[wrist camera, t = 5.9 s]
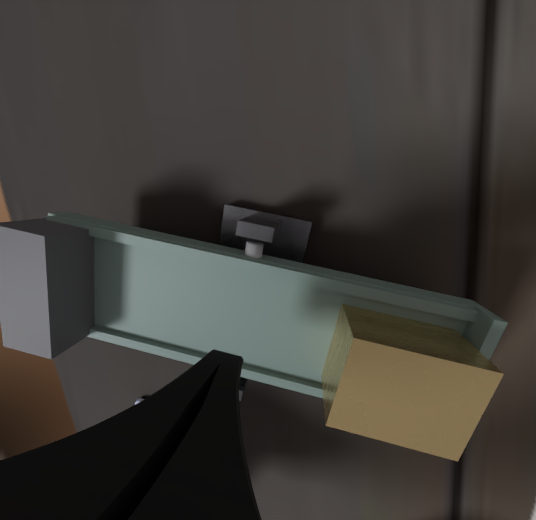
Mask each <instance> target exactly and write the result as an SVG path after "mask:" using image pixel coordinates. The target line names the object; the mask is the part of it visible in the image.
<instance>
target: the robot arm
mask: <svg viewBox="0 0 536 520" xmlns="http://www.w3.org/2000/svg"><path fill="white" fill-rule="evenodd" d="M243 360H244V359H243V358H242V356H238V355H234V354H230V353H226V352H223V351H219V350H215V349H213V350H212V351H210V352H209V353H208V354H207V355H205V356H204V357H203V358H202V359H201V360H199V361H198V362H197V363H196V364H195V365H193V366H192V367H191V368H189V369H188V370H187V371H185V372H184V373H183V374H182V375H180V376H179V377H178V378H176V379H175V380H173V381H172V382H170V383H169V384H167V385H166V386H164V387H163V388H162V389H160V390H159V391H157V392H156V393H154V394H152V395H151V396H149V397H148V398H146V399H142V398H140V399H138V400H137V401H136V402H135V405H134V406H132V407H130V408H128V409H126V410H125V411H123V412H121V413H119V414H117V415H115V416H113V417H111V418H109V419H107V420H105V421H103V422H101V423H98V424H96V425H94V426H92V427H90V428H87V429H85V430H83V431H80V432H78V433H76V434H74V435H71V436H68V437H66V438H64V439H61V440H58V441H55V442H53V443H50V444H48V445H45V446H42V447H39V448H36V449H33V450H30V451H27V452H24V453H22V454H19V455H16V456H13V457H10V458H7V459H4V460H0V520H261V517H260V514H259V510H258V507H257V503H256V499H255V495H254V492H253V488H252V484H251V479H250V475H249V470H248V466H247V461H246V456H245V451H244V445H243V438H242V431H241V422H240V410H239V381H240V376H241V370H242V365H243Z"/></svg>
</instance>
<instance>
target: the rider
mask: <svg viewBox="0 0 536 520" xmlns="http://www.w3.org/2000/svg"><path fill="white" fill-rule="evenodd" d="M503 375H504V373H503V372H501V371H500V370H499V369H498V368H497V367H496V366H495V365H494V364H493V363H492V362H490V361H489V360H488V359H487V358H486V357H485V356H484V355H483V354H482V353H481V352H479V351H478V350H477V349H476V348H475V347H474V346H473V345H472V344H471V343H470V342H468V341H467V340H466V339H465V338H464V337H463V336H462V335H461V334H460V333H459V332H457V331H456V330H455V329H451V328H447V327H443V326H438V325H434V324H430V323H425V322H421V321H416V320H412V319H408V318H403V317H399V316H395V315H390V314H386V313H381V312H377V311H373V310H368V309H364V308H359V307H355V306H351V305H346V304H342V306H341V309H340V313H339V316H338V319H337V323H336V326H335V330H334V333H333V337H332V340H331V344H330V347H329V350H328V354H327V357H326V361H325V364H324V368H323V371H322V374H321V378H322V389H323V400H324V412H325V423H326V426H329V427H332V428H336V429H340V430H343V431H347V432H351V433H354V434H358V435H362V436H365V437H369V438H373V439H377V440H380V441H384V442H388V443H391V444H395V445H399V446H402V447H406V448H410V449H413V450H417V451H421V452H424V453H428V454H432V455H436V456H439V457H443V458H447V459H450V460H454V461H458V460H459V458H460V457H461V455H462V453H463V451H464V449H465V447H466V445H467V443H468V441H469V439H470V438H471V436H472V434H473V432H474V430H475V428H476V426H477V424H478V422H479V421H480V419H481V417H482V415H483V413H484V411H485V409H486V407H487V405H488V403H489V402H490V400H491V398H492V396H493V394H494V392H495V390H496V388H497V386H498V384H499V383H500V381H501V379H502V377H503Z"/></svg>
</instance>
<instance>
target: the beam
mask: <svg viewBox="0 0 536 520" xmlns="http://www.w3.org/2000/svg"><path fill="white" fill-rule="evenodd" d="M263 246H264V244H262V243H260V242H255V241H247V242H246V247H245V250H240V249H236V248H231V247H226V246H222V245H217V244H213V243H208V242H203V241H199V240H194V239H190V238H185V237H180V236H176V235H171V234H167V233H162V232H157V231H153V230H148V229H144V228H139V227H135V226H130V225H125V224H121V223H116V222H112V221H107V220H102V219H98V218H93V217H89V216H84V215H79V214H75V213H70V212H54V213H48V216H46V218H43V219H32V220H22V221H11V222H1V223H0V321H1V330H2V339H3V346H5V347H8V348H12V349H16V350H20V351H23V352H26V353H30V354H34V355H38V356H41V357H45V358H48V359H53V358H54V357H56V356H57V355H59V354H60V353H62V352H63V351H65V350H67V349H68V348H70V347H71V346H73V345H74V344H76V343H77V342H79V341H80V340H82V339H83V338H85V337H86V336H87V337H91V338H95V339H99V340H102V341H106V342H110V343H114V344H118V345H121V346H125V347H129V348H133V349H137V350H140V351H144V352H148V353H152V354H156V355H160V356H163V357H167V358H171V359H175V360H179V361H182V362H186V363H190V364H194V365H195V364H196V363H197V362H198V361H199V360H201V359H202V358H203V357H204V356H205V355H207V354H208V353H209V352H210V351H212V350H213V349H215V350H219V351H223V352H226V353H230V354H234V355H238V356H242V358H243V359H244V360H243V365H242V370H241V376H240V377H243V378H247V379H251V380H255V381H259V382H262V383H266V384H270V385H274V386H278V387H281V388H285V389H289V390H293V391H297V392H300V393H304V394H308V395H312V396H316V397H319V398H323V389H322V378H321V374H322V371H323V368H324V364H325V361H326V357H327V354H328V350H329V347H330V344H331V340H332V337H333V333H334V330H335V326H336V323H337V319H338V316H339V313H340V309H341V306H342V304H346V305H351V306H355V307H359V308H364V309H368V310H373V311H377V312H381V313H386V314H390V315H395V316H399V317H403V318H408V319H412V320H416V321H421V322H425V323H430V324H434V325H438V326H443V327H447V328H451V329H455V330H456V331H457V332H459V333H460V334H461V335H462V336H463V337H464V338H465V339H466V340H467V341H468V342H470V343H471V344H472V345H473V346H474V347H475V348H476V349H477V350H478V351H479V352H481V353H482V354H483V355H484V356H485V357H486V358H487V359H488V360H490V358H491V356H492V354H493V352H494V350H495V348H496V346H497V344H498V342H499V340H500V338H501V336H502V334H503V332H504V330H505V328H506V326H507V324H508V322H506V321H504V320H503V319H501V318H500V317H498V316H497V315H495V314H494V313H492V312H490V311H489V310H487V309H486V308H484V307H483V306H481V305H479V304H478V303H476V302H475V301H473V300H470V299H465V298H460V297H456V296H451V295H447V294H442V293H437V292H433V291H428V290H424V289H419V288H415V287H410V286H405V285H401V284H396V283H392V282H387V281H382V280H378V279H373V278H369V277H364V276H359V275H355V274H350V273H346V272H341V271H337V270H332V269H327V268H323V267H318V266H314V265H309V264H304V263H300V262H295V261H291V260H286V259H281V258H277V257H272V256H268V255H263V254H262V252H263Z"/></svg>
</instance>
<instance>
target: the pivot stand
mask: <svg viewBox="0 0 536 520" xmlns="http://www.w3.org/2000/svg"><path fill="white" fill-rule="evenodd" d="M311 225H312V221H310V220H306V219H301V218H296V217H291V216H286V215H281V214H276V213H271V212H266V211H261V210H256V209H251V208H246V207H242V206H237V205H232V204H224V211H223V219H222V226H221V233H220V241H219V245H222V246H226V247H231V248H236V249H240V250H245V247H246V242H247V241H255V242H260V243H262V244H264V246H263V252H262V254H263V255H268V256H272V257H277V258H281V259H286V260H291V261H295V262H300V263H303V260H304V255H305V251H306V247H307V242H308V238H309V234H310V230H311ZM247 381H248V379H247V378H243V377H240V381H239V401H241V400H242V396H243V393H244V390H245V387H246V384H247Z"/></svg>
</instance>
